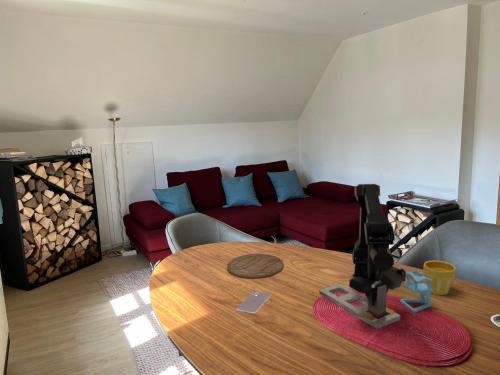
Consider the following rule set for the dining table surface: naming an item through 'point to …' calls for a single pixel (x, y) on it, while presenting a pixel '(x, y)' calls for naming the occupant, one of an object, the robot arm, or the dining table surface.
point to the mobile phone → (253, 302)
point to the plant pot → (439, 276)
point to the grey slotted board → (361, 310)
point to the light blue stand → (418, 290)
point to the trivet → (255, 266)
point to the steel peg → (379, 300)
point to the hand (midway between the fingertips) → (376, 303)
